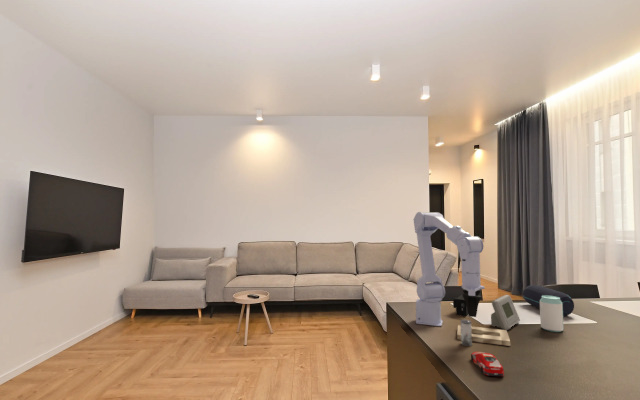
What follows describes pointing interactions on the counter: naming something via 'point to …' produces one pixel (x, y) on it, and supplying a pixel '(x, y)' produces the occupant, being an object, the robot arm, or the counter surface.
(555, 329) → the can
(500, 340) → the keyhole board
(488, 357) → the race car
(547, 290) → the portable speaker
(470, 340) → the peg
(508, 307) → the digital clock
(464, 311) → the digital camera
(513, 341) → the counter surface
